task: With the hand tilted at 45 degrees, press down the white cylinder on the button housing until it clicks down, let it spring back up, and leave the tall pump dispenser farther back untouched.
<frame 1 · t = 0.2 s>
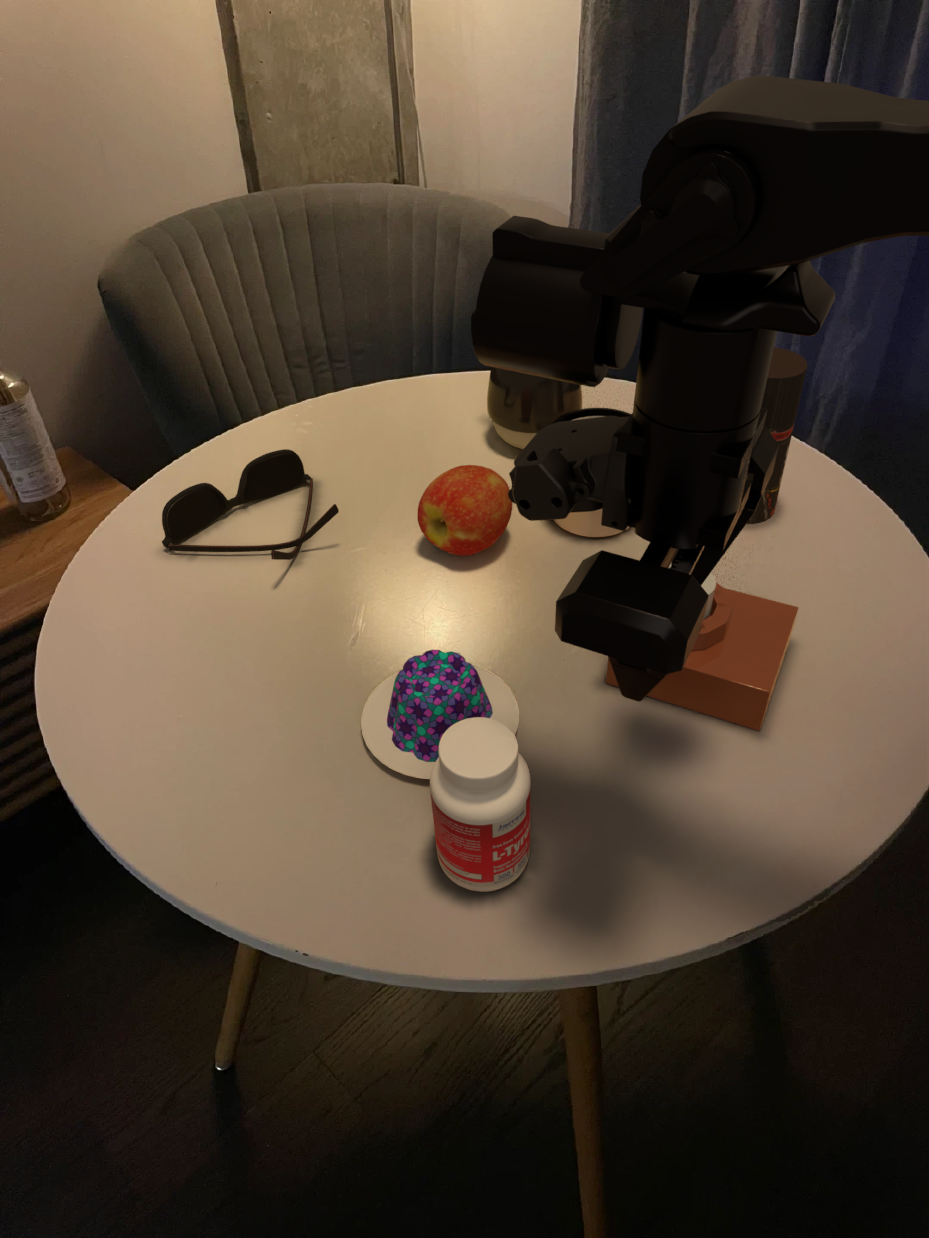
hand: (658, 644, 51), 15 cm above the table, tool pointing down, fingers open, 9 cm apart
button housing: (698, 664, 71), on the table
deodorant: (742, 507, 87), on the table
pump dispenser: (533, 439, 98), on the table
pill bottle: (483, 854, 59), on the table
mug: (605, 512, 87), on the table
white cylinder: (684, 592, 67), point 7 cm above the table, slide at 0.1 cm
pudding: (440, 723, 68), on the table
sunglasses: (271, 541, 86), on the table
apple: (469, 545, 84), on the table
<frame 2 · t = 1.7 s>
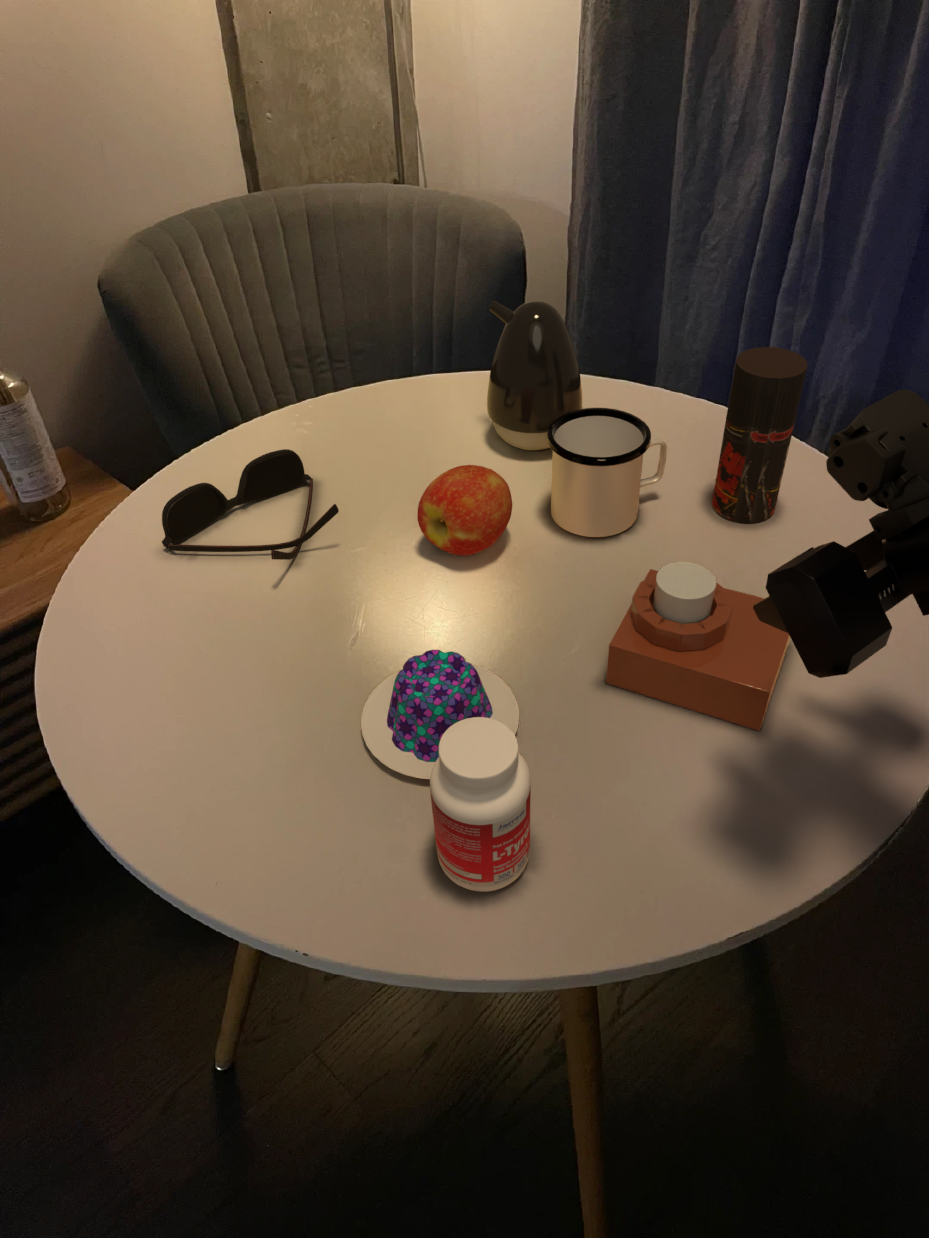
hand: (799, 585, 57), 13 cm above the table, tool tilted 45°, fingers open, 8 cm apart
nothing on the table moved.
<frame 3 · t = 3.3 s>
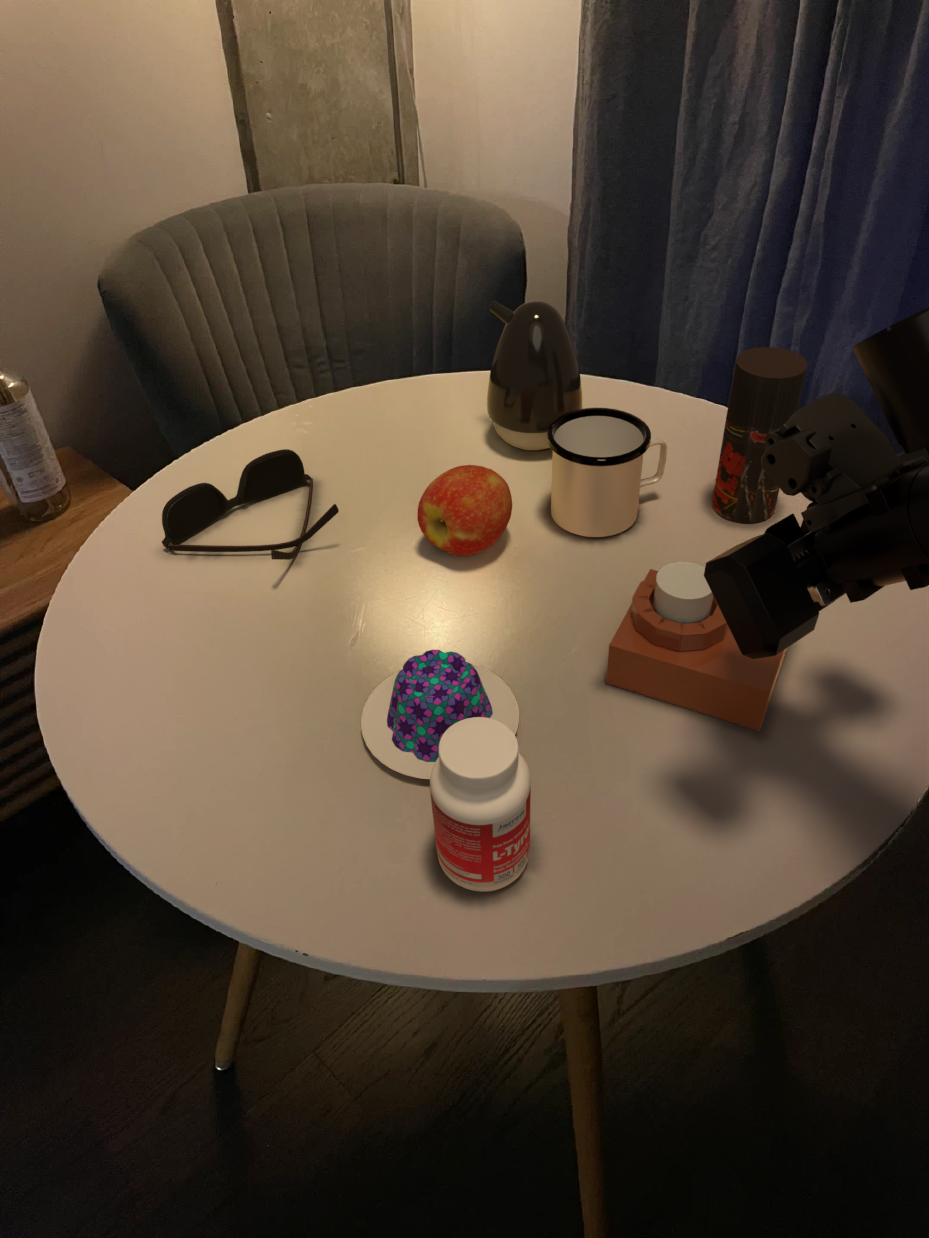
hand: (745, 574, 61), 12 cm above the table, tool tilted 45°, fingers closed
nothing on the table moved.
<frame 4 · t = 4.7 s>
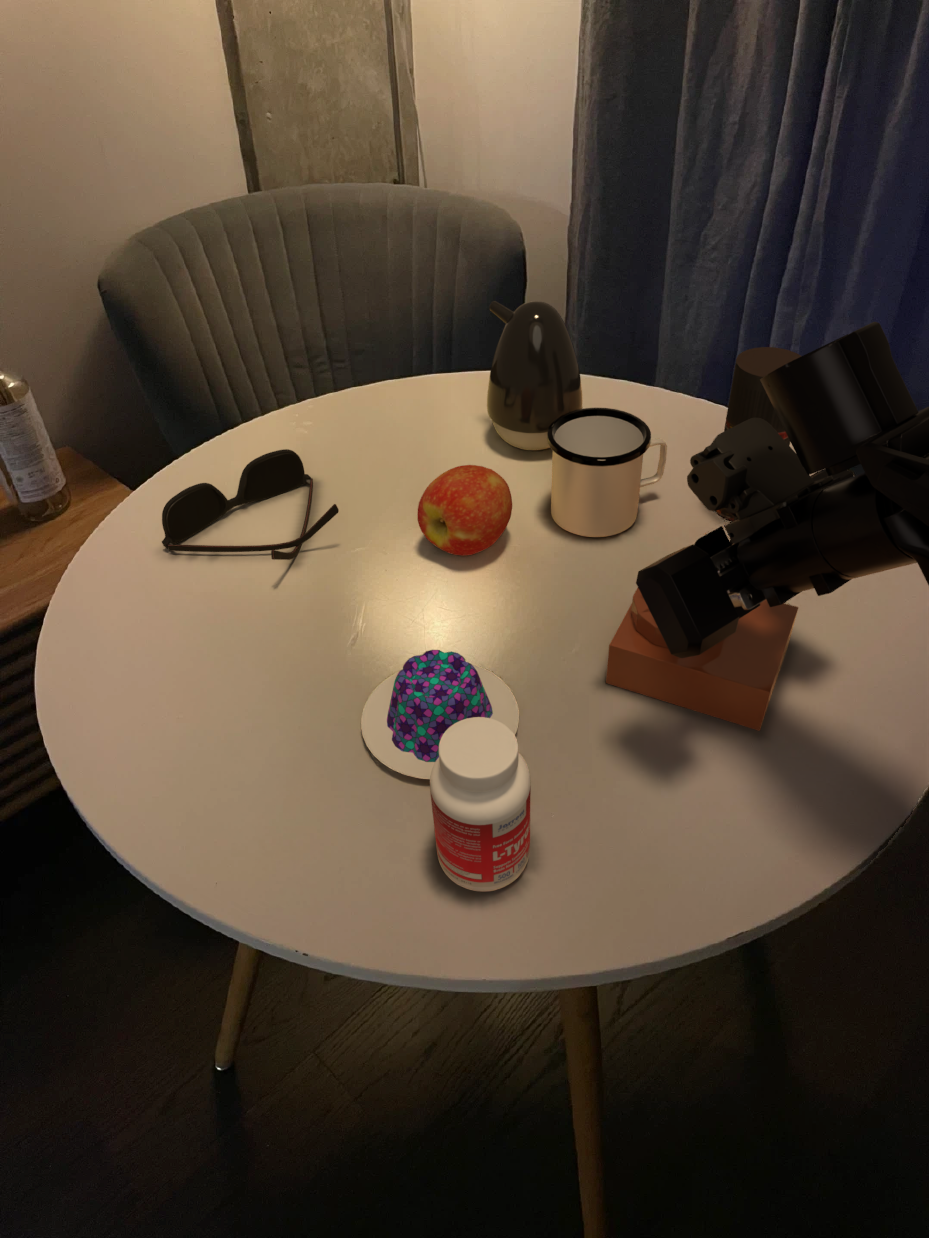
hand: (685, 580, 66), 8 cm above the table, tool tilted 45°, fingers closed, pressing on white cylinder
white cylinder: (683, 596, 67), point 6 cm above the table, slide at -0.4 cm, touching gripper
everything else where it was.
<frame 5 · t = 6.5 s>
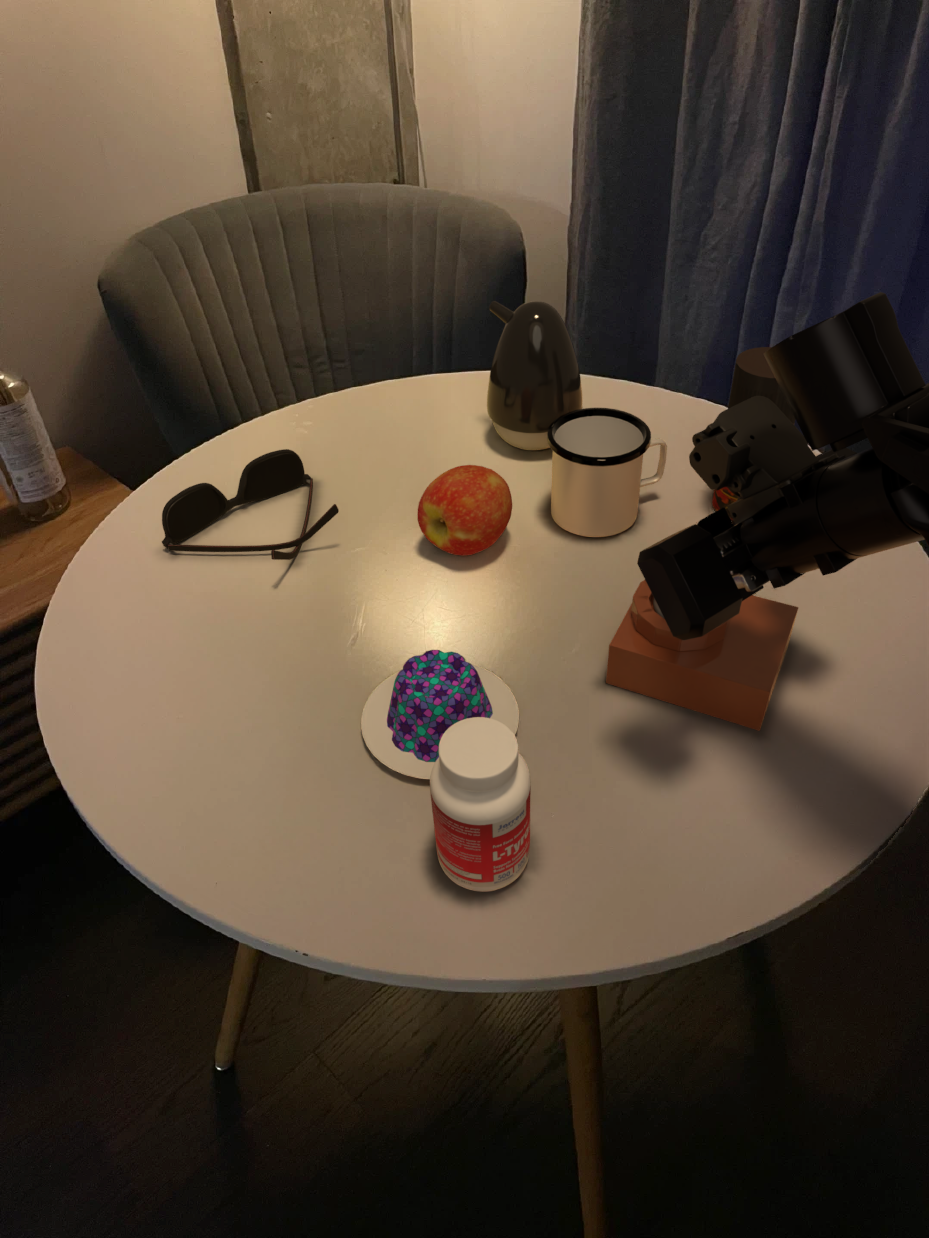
hand: (687, 565, 65), 9 cm above the table, tool tilted 45°, fingers closed
white cylinder: (684, 592, 67), point 7 cm above the table, slide at 0.1 cm
everything else where it was.
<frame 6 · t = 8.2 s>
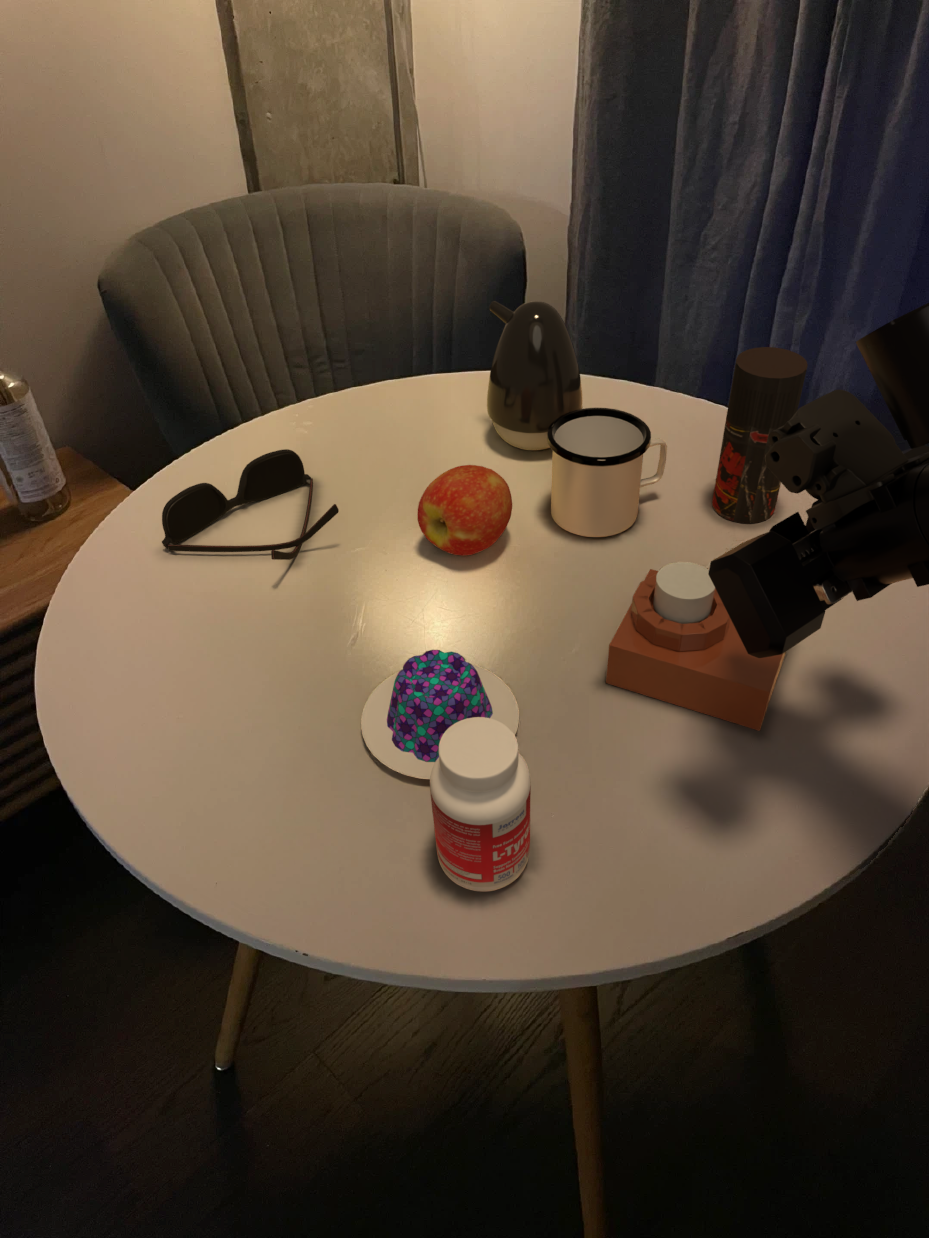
hand: (750, 574, 60), 12 cm above the table, tool tilted 45°, fingers closed
nothing on the table moved.
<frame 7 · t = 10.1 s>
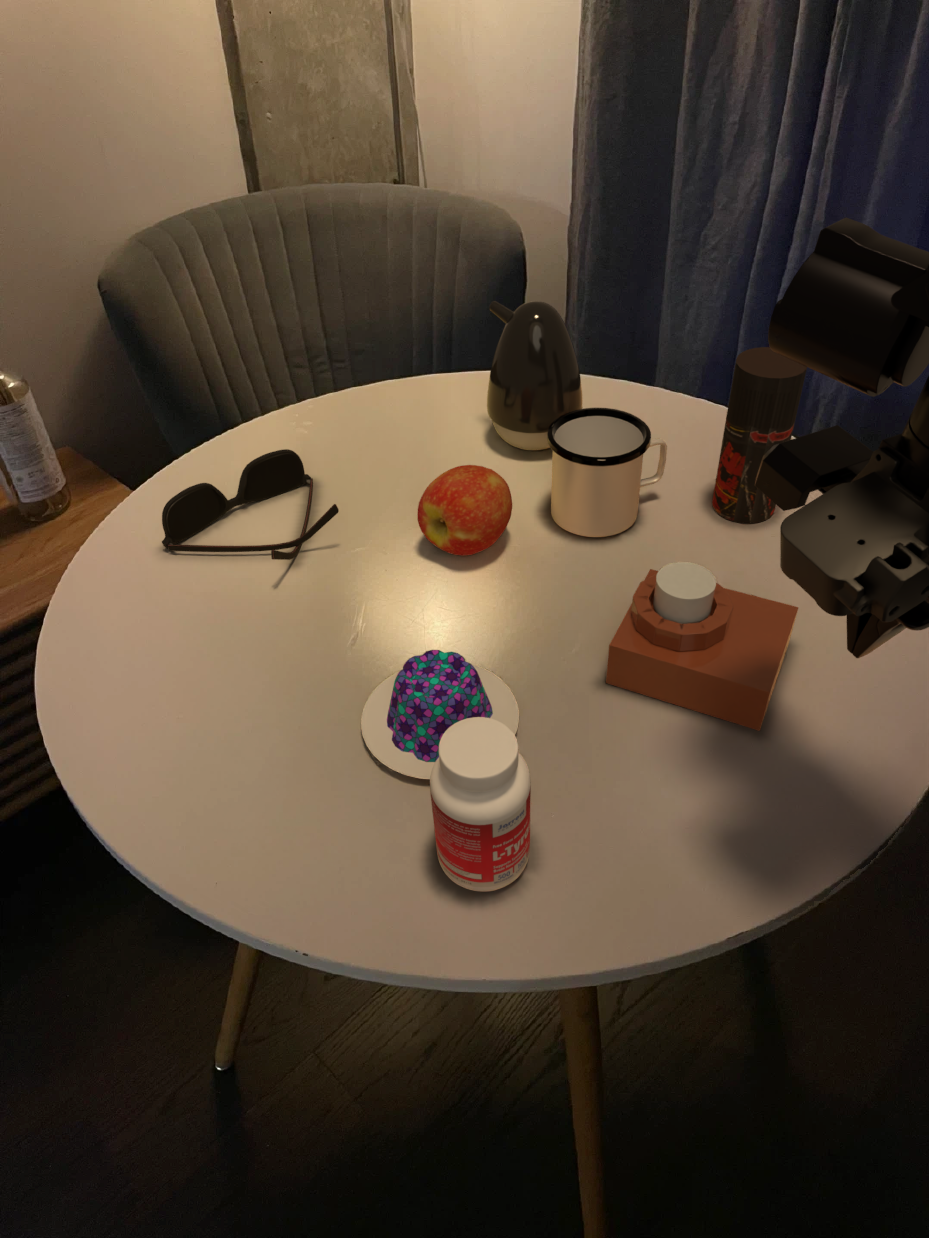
hand: (857, 652, 53), 13 cm above the table, tool pointing down, fingers closed
nothing on the table moved.
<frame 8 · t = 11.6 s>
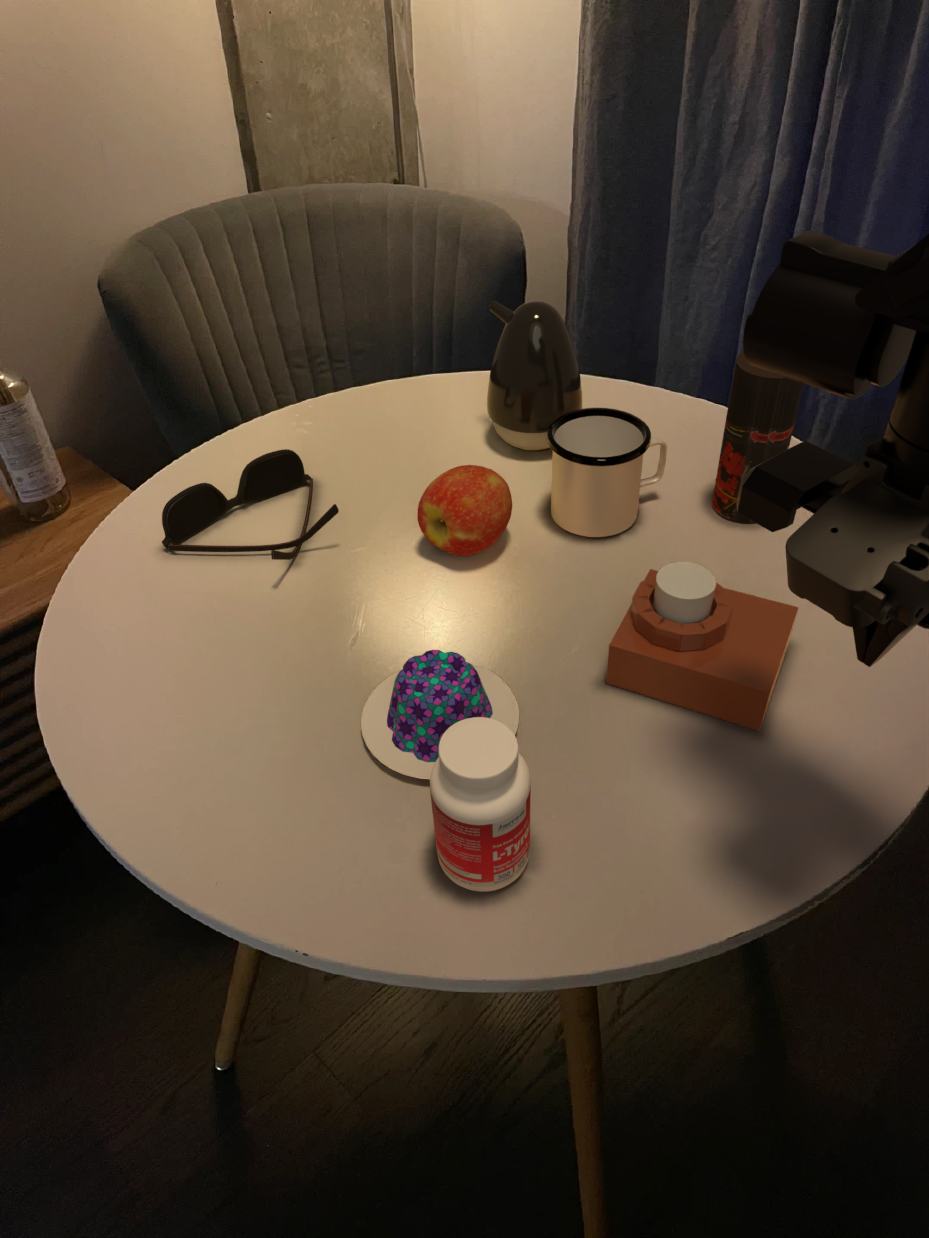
hand: (868, 660, 53), 13 cm above the table, tool pointing down, fingers closed
nothing on the table moved.
at the end: white cylinder pushed in 1.2 cm at the most during the clip, back to where it started at the end; white cylinder slide at 0.1 cm; pump dispenser moved 0.2 cm from its start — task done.
